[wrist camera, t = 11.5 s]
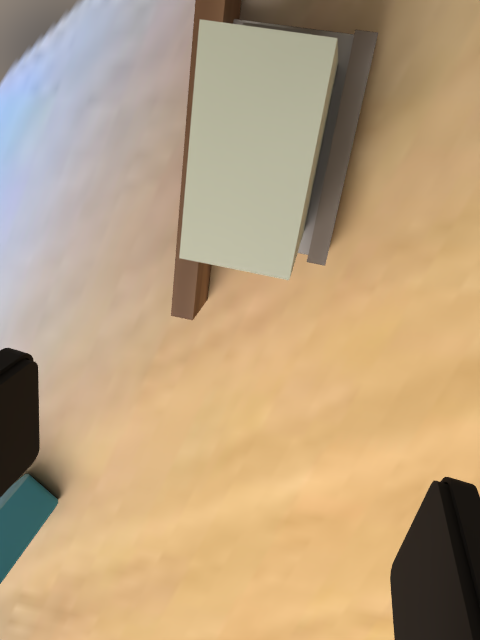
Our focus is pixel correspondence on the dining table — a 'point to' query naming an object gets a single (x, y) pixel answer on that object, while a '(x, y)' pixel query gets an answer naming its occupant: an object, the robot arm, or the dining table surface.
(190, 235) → the slotted sage box
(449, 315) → the dining table surface
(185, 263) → the board
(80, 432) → the dining table surface
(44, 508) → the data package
